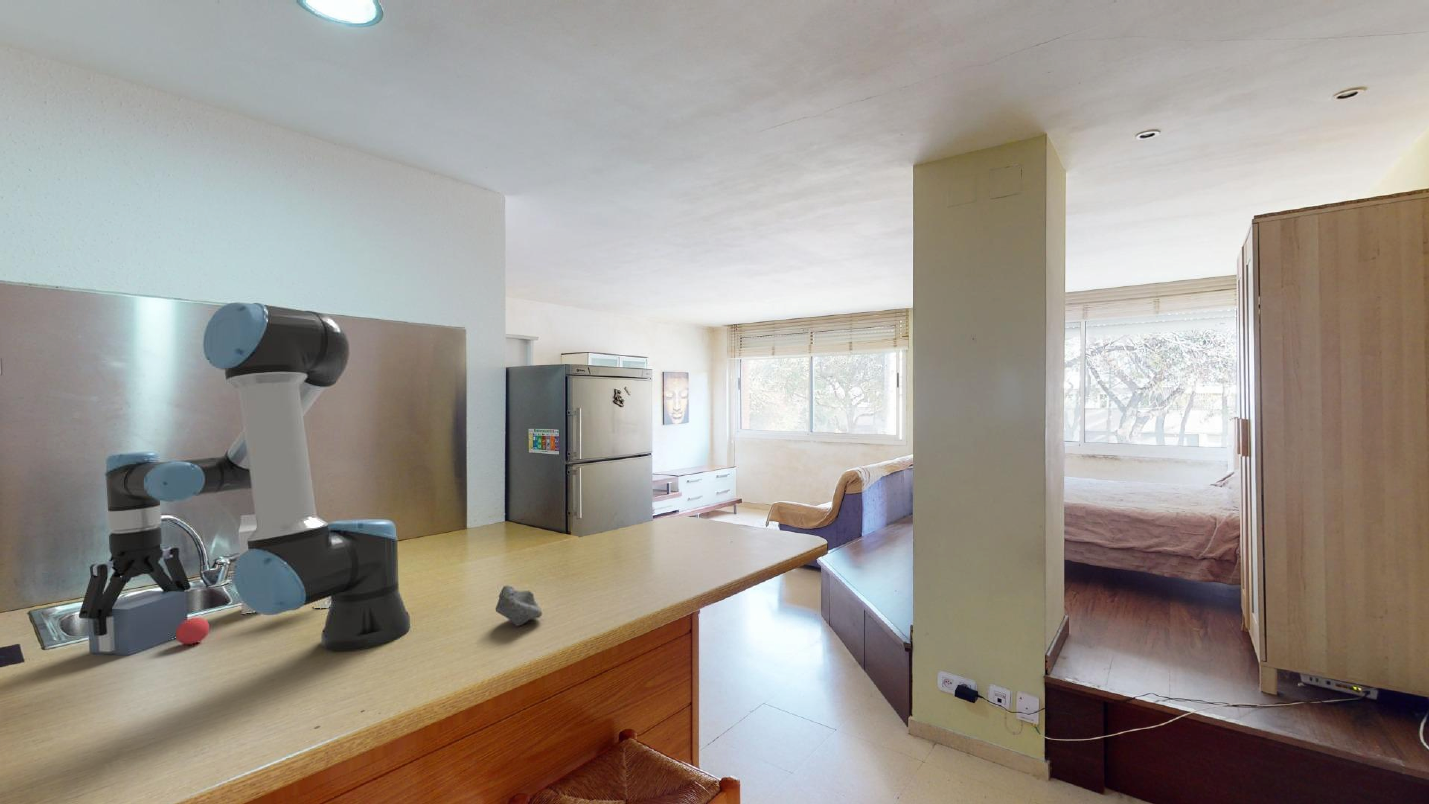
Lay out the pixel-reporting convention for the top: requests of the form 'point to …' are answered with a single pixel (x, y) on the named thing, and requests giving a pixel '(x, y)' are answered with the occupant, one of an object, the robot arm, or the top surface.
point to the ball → (192, 630)
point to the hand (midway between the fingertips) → (140, 639)
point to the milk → (245, 531)
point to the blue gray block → (143, 621)
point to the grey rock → (517, 605)
